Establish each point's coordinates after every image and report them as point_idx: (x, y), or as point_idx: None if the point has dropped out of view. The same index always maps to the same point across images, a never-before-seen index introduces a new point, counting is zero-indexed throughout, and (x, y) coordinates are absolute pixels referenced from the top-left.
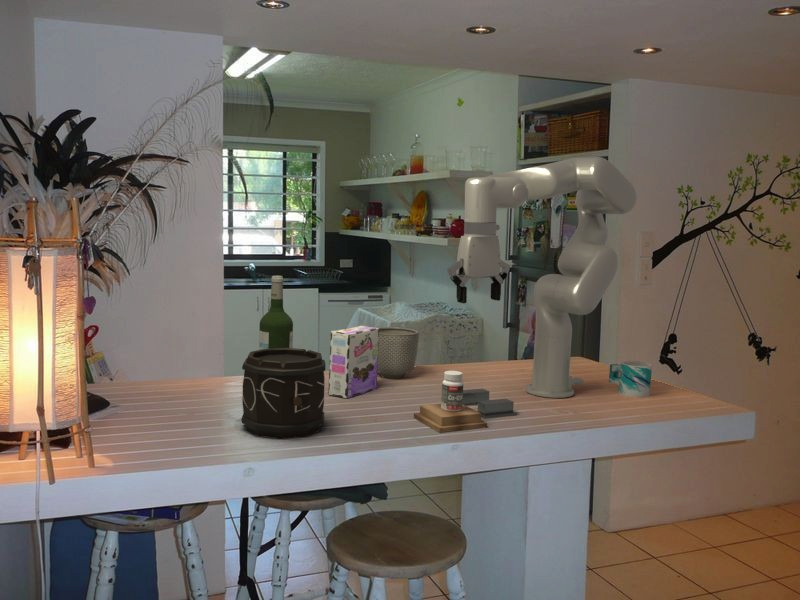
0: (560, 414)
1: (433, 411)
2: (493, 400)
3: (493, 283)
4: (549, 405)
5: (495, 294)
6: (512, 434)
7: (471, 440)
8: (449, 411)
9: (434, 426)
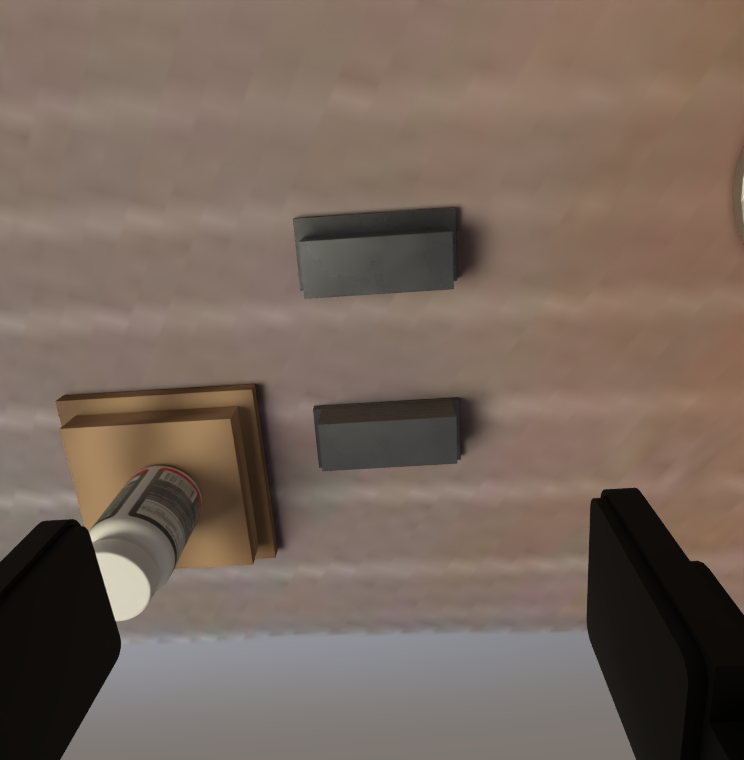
0: (621, 483)
1: (88, 508)
2: (386, 429)
3: (705, 733)
4: (674, 370)
5: (609, 649)
6: (322, 619)
7: (176, 634)
8: None
9: None
